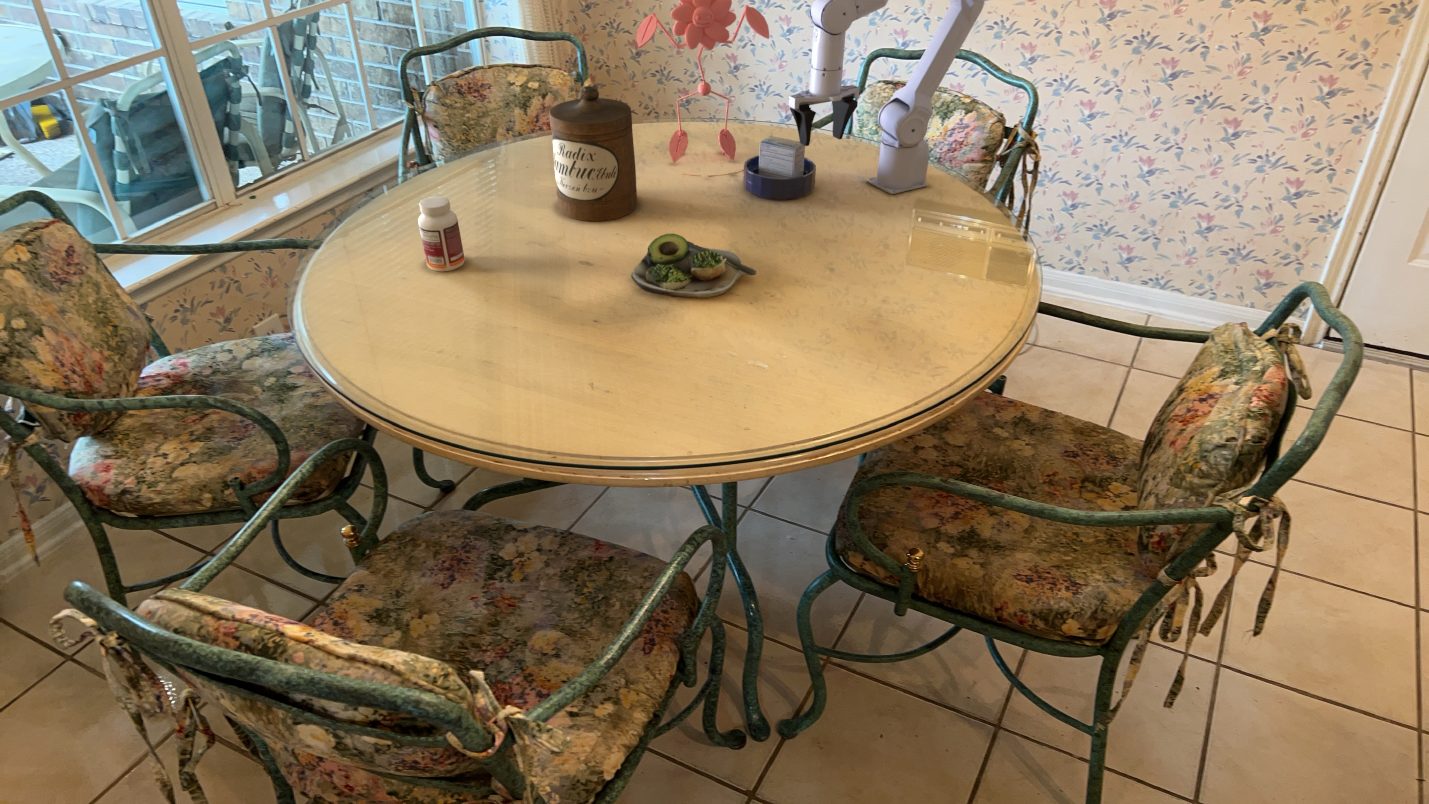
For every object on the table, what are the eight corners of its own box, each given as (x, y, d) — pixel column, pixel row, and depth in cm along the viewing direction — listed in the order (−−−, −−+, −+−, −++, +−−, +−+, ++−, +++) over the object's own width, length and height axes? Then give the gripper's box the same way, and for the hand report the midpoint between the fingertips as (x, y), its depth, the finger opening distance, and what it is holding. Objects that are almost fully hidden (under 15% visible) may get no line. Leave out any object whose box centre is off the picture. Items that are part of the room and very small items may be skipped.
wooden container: (543, 214, 167) (530, 94, 154) (582, 186, 178) (573, 72, 166) (614, 227, 162) (607, 104, 150) (650, 198, 174) (646, 81, 161)
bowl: (788, 170, 186) (789, 148, 184) (828, 193, 176) (830, 171, 174) (730, 182, 180) (730, 160, 178) (768, 207, 171) (769, 184, 168)
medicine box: (803, 185, 178) (806, 142, 173) (793, 192, 175) (795, 149, 170) (768, 177, 181) (770, 134, 176) (757, 184, 178) (759, 141, 173)
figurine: (641, 153, 194) (634, -24, 174) (760, 151, 195) (767, -25, 175) (641, 180, 181) (634, -8, 161) (769, 177, 183) (777, -9, 163)
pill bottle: (460, 253, 153) (450, 191, 147) (469, 268, 149) (458, 205, 143) (423, 260, 151) (411, 197, 145) (430, 275, 147) (418, 212, 140)
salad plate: (768, 261, 152) (769, 236, 149) (739, 310, 138) (740, 284, 135) (660, 245, 157) (660, 220, 154) (621, 292, 143) (620, 265, 140)
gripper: (806, 77, 157) (801, 154, 164) (872, 66, 163) (864, 141, 170) (783, 68, 162) (780, 142, 169) (848, 57, 168) (842, 130, 175)
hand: (821, 141), depth 170 cm, fingers open, 7 cm apart
